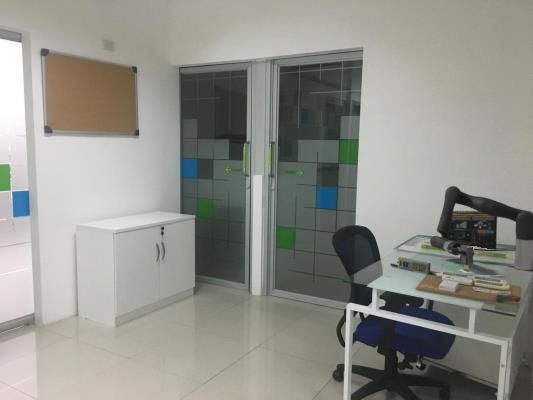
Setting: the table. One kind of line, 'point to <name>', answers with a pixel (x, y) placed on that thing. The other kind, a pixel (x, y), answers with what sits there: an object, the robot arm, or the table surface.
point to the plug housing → (467, 254)
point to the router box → (473, 229)
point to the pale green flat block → (460, 268)
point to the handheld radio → (413, 265)
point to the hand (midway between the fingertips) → (469, 253)
